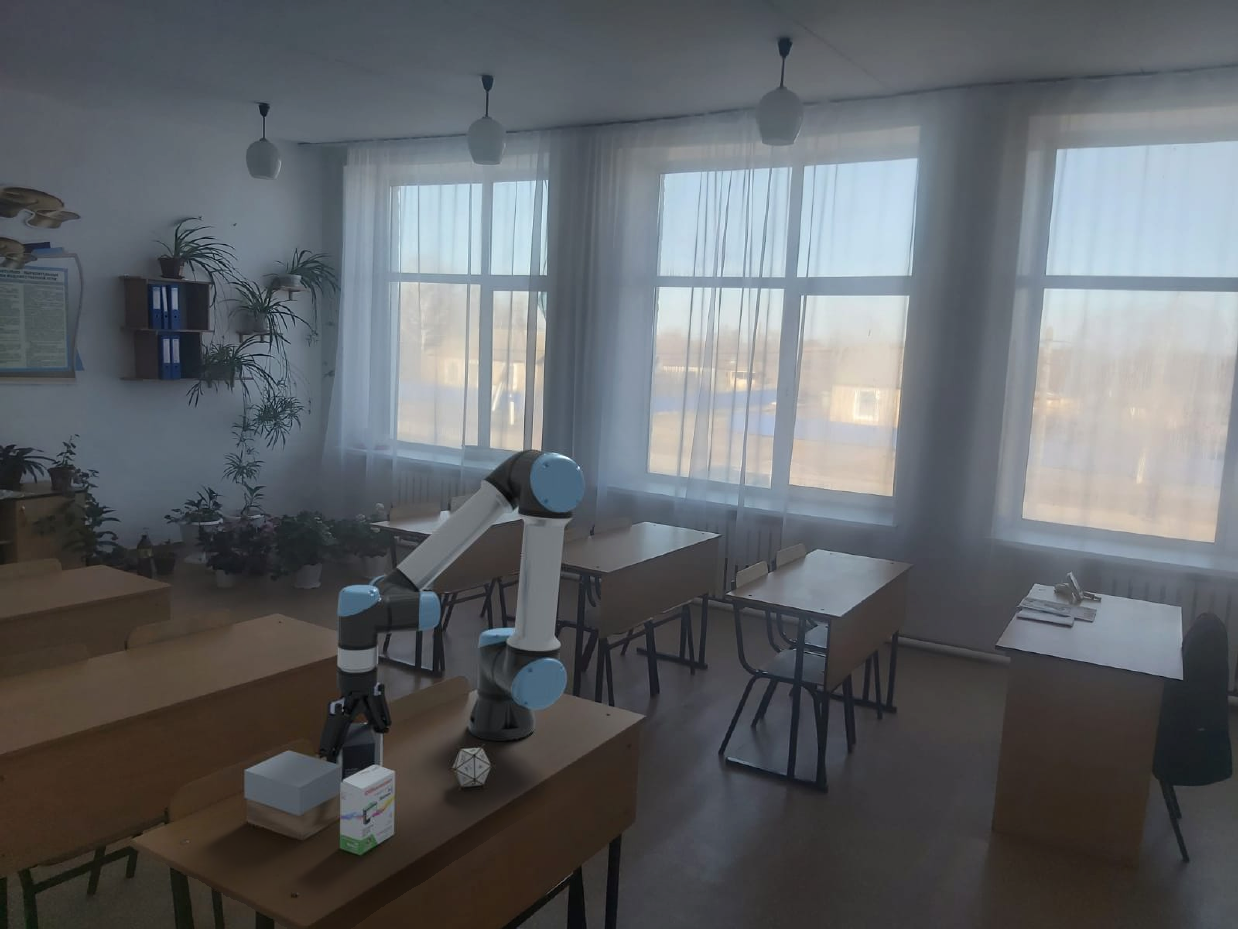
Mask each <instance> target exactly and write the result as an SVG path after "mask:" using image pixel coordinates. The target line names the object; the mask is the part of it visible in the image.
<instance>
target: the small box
mask: <svg viewBox="0 0 1238 929" xmlns="http://www.w3.org/2000/svg"><path fill="white" fill-rule="evenodd" d="M372 731H373V729H372V727H371V726H370V723H369V722H368V721H365V722H357V723H355V722H354V723H351V725H350V728H349V730H348V733H347V735H346V738H345V740H344V743H343V745H342V748H341V750H340V753H339V755H342V782H343V780H344V779H346V778H348V777H350V776H351V775H354V774H356V773H358V772H360V771H362V770H364V769H366V768H368V767H370V766H372V765H375V739H374V736H373V733H372Z"/></svg>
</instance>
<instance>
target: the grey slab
mask: <svg viewBox="0 0 1238 929" xmlns="http://www.w3.org/2000/svg"><path fill="white" fill-rule="evenodd" d="M243 775H244V777H243V778H244V783H243V785H244V786H243V787H244V790H243V791H244V794H243V795H244V799H246V800H247V799H250V800H253V801H256V802H259V803H262V804H265V805H268V806H271V807H274V808H277V809H280V810H283V811H286V812H289V813H292V814H295V815H298V816H300V815H302V814H303V813H305V812H307V811H309V810H311V809H313V808H314V807H316V806H318V805H320V804H322V803H323V802H325V801H327V800H329V799H331V798H333V797H334V796H336V795H338V794H340V783H341V782H342V766H341V765H338V764H334V763H331V762H327V761H326V760H324V759H320V758H317V757H314V756H310V755H306V754H303V753H300V752H296V751H292V750H289V749H288V750H286V751H283V752H282V753H279V754H277V755H274V756H273V757H270V758H267V759H266V760H263V761H262V762H260V763H257V764H254V765H253V766H251V767H249V768H247V769H244V774H243Z"/></svg>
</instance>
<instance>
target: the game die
mask: <svg viewBox="0 0 1238 929" xmlns="http://www.w3.org/2000/svg"><path fill="white" fill-rule="evenodd" d="M484 748H485V743H482V744H481V746H479V747H470V748H469V747H467V748H461V746H459V745H457V749H458V752H457V755H456V757H455V759H454V762H453V764H452V766H449V767H448V768H447V769H448V770H452V772H453V774H454V776H455V778H456V780H457V782H458V784H459V788H458V792H460V791H461V790H462V788H467V787H476V786H482V787H483V788H484V789H486V788H487V785H486V784H485V782H486V781H487V778H488V776H489V773H490V770H491V769H492V768H495V767H496V765H495V764H492V763H491V761H490V759H489V757H488V756H487V753H486V751H485V749H484Z"/></svg>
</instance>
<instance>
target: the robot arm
mask: <svg viewBox="0 0 1238 929" xmlns="http://www.w3.org/2000/svg"><path fill="white" fill-rule="evenodd" d="M585 484H586V482H585V476H584V474H583V471H582V469H581V467H580V466H579V465H578V463H576V462H575V461H574V460H573V459H571V458H570V457H568V456H565V455H563V454H561V453H555V452H549V451H541V450H539V449H534V448H533V449H531V448H530V449H523V450H520V451H518V452H516V453H513V454H512V455H511V456H509V457H508V458H507V459H505V460H504V461H502V462H501V463H500V464H499V465H498V466H497V467H496V468H494V470H492V471H490V473H489V474H488V475H487V476H485V477H484V478H483V479H482V480H481V482H480V489H478V491H476V492H475V493H474V494H473V495H472V496H471V497H470V498H469V499H468V500H467V501H465V503H463V504H462V505H461V506H460V507H459V508H458V509H457V510H456V511H455V512H454V513H452V514H451V516H450V517H449V518H447V519H446V521H444V522H443V523H442V524H441V525H440V526H439V527H438V528H437V529H436V530H435V531H434V532H432V533H431V534H430V535H429V536H428V537H427V538H426V539H425V540H423V542H422V543H420V544H419V545H418V546H417V547H416V548H415V549H414V550H413V551H412V552H411V553H410V554H409V555H408V556H407V557H405V558H404V559H403V560H402V561H401V562H400V563H399V564H398V565H397V566H396V567H395V568H394V569H393V570H391V571H390V572H389V573H387V575H380V576H377V577H375V578H373V579H372V580H371V581H370V582H369V584H353V585H348V586H346V587H344V588H342V589H341V590H340V591H339V594H338V601H337V602H338V603H337V611H336V614H337V666H338V668H337V670H336V687H337V688H338V689H339V692H340V694H339V695H340V696H339V698H338V700H337V701H331V700H329V701H328V702H327V706H326V707H327V709H326V710H327V712H326V719H325V722H324V726H323V729H322V732H321V733H322V734H321V739H320V742H319V745H318V749H317V755H318V756H321V757H324V758H325V759H326V760H325V761H327V762H331V763H334V764H338V765H341V766H342V755H339V753H340V750H341V748H342V745H343V743H344V740H345V738H346V735H347V733H348V730H349V728H350V725H351V724H353V723H355V720H356V718H357V717H358V716H359V715H361V714H363V715H364V717H365V719H366V720H367V722H369V723H370V726H371V730H372V733H373V736H374V739H375V765H379V766H381V767H383V753H384V750H383V749H384V748H383V747H384V745H385V743H384V741H385V739H384V738H385V737H384V736H385V734H388V733H389V731H390V728H389V727H391V726H392V724H393V723H392V718H391V713H390V710H389V706H388V703H387V698H386V694H385V693H386V692H385V690H386V688H385V687H386V685H385V684H384V683H380V682H378V670H379V669H378V667H377V665H378V663H379V636H380V635H388V634H397V633H406V632H407V633H408V632H421V631H425V630H430V629H434V628H435V627H437V626H438V625H439V622H440V619H441V603H440V599H439V597H438V595H437V594H436V592H434V591H428V590H427V591H425V589H426V588H427V587H428V586H429V585H430V584H431V583H432V582H433V581H435V579H437V577H439V575H440V574H442V573H443V572H444V571H445V570H446V569H447V568H448V567H450V565H451V564H452V563H454V562H455V561H456V559H457V558H459V557H460V556H461V555H462V554H463V553H464V552H465V551H466V550H467V549H469V547H470V546H472V544H473V543H474V542H476V541H477V540H478V539H479V538H480V537H481V536H482V535H483V534H484V533H485V532H486V531H487V530H489V528H490V527H492V525H494V523H496V522H497V521H499V519H500V518H501V517H502V516H503V515H504V514H512V513H513V512H514V511H515V510H516V509H518V511H517V515H518V516H519V517H520V519H522V521H523V535H522V545H521V557H520V567H519V568H520V569H519V576H518V577H519V579H518V589H517V591H518V592H517V603H516V613H515V623H514V624H515V625H514V627H502V628H501V627H499V628H493V629H488V630H485V631H483V632H481V633H480V635H479V638H478V645H477V689H476V691H477V695H476V698H475V701H474V704H473V707H472V709H471V711H470V715H469V718H468V732H469V733H470V734H471V735H472V736H474V737H477V738H479V739H482V740H486V741H494V742H506V741H507V740H510V741H514V740H513V739H516V740H520V739H519V738H521V739H523V738H522V737H524V736H526V737H528V736H530V735H531V734H530V733H531V732H533V731H534V732H535V730H536V717H535V713H534V710H535V711H537V710H543V709H546V708H548V707H550V706H552V705H553V704H555V702H556V701H557V700H558V699H559V698H560V697H561V696H562V695H563V692H564V691H565V689H566V685H567V681H568V675H567V671H566V668H565V667H564V666H565V665H564V664H563V663H562V662H561V661H560V659H561V658H560V655H561V642H560V641H559V640H558V638H557V637H556V635H555V633H556V622H557V611H558V599H559V589H560V580H561V569H562V568H561V566H562V558H563V556H562V555H563V546H564V545H563V544H564V535H565V526H566V525H567V524H569V522H570V521H572V519H573V515H574V509H575V508H576V507H577V505H578V504H579V503H580V502H581V501H582V499H583V496H584V493H585V488H586V487H585V486H586V485H585ZM534 729H535V730H534ZM534 732H533V733H534ZM529 734H530V735H529ZM527 735H528V736H527ZM524 738H525V737H524ZM507 742H508V741H507Z"/></svg>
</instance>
